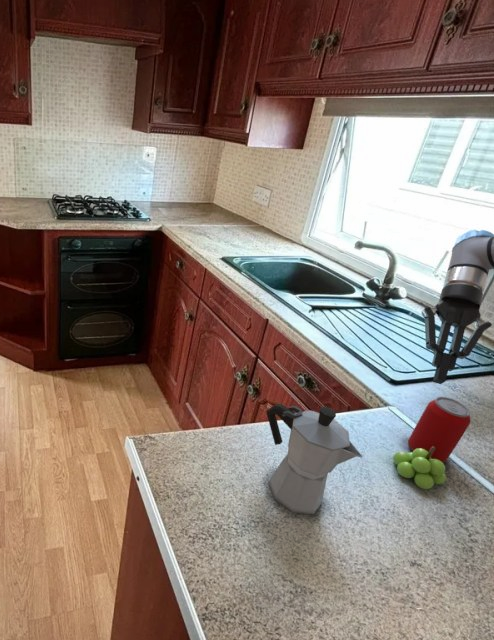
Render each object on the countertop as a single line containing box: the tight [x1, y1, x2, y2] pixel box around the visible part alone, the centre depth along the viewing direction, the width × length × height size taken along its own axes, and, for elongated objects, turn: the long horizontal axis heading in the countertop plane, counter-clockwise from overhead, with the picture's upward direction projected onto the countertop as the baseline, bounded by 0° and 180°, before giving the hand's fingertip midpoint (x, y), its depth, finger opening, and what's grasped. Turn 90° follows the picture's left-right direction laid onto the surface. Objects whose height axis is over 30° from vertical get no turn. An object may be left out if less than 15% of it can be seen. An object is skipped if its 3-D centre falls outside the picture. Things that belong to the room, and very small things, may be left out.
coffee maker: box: [266, 403, 363, 515], centre depth 66 cm, size 15×9×18 cm, turn 43°
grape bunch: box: [392, 447, 447, 490], centre depth 74 cm, size 8×8×7 cm
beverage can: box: [407, 396, 472, 463], centre depth 79 cm, size 7×7×12 cm
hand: (439, 381), depth 89 cm, fingers closed
